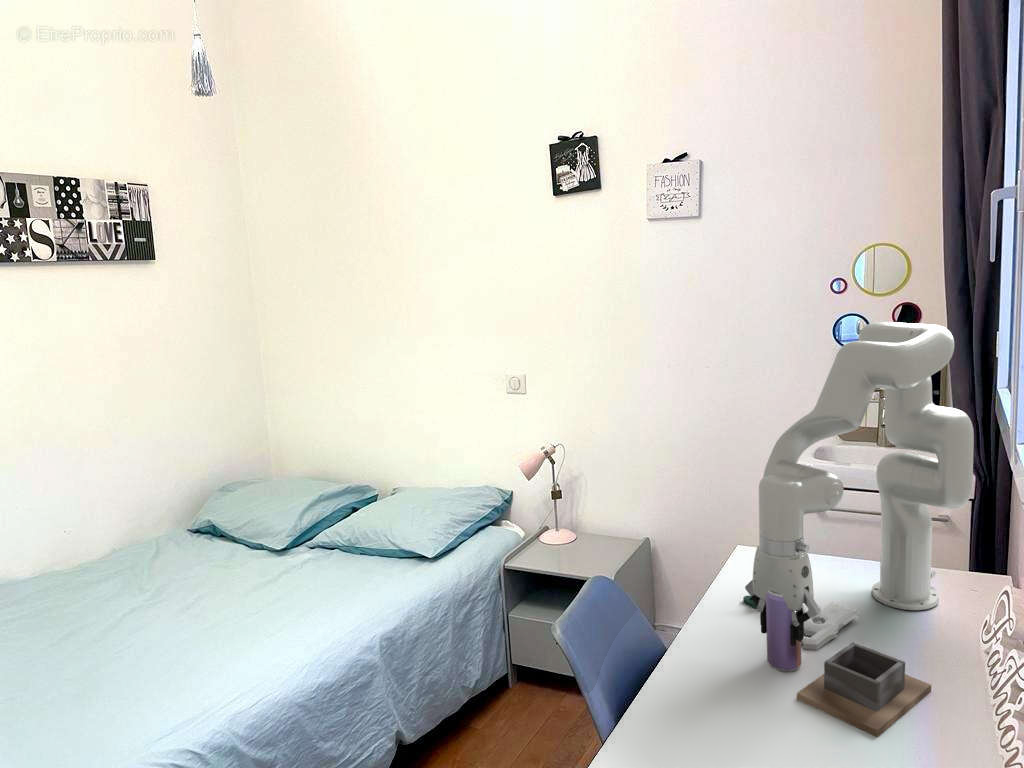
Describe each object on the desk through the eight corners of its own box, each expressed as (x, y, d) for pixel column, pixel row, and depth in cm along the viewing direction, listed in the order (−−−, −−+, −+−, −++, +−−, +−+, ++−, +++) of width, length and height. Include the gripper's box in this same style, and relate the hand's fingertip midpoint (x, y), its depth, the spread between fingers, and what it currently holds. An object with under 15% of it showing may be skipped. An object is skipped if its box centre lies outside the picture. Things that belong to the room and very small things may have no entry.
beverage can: (783, 676, 138) (782, 598, 136) (760, 661, 144) (758, 586, 141) (808, 666, 141) (807, 590, 138) (784, 652, 146) (783, 578, 143)
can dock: (852, 659, 142) (852, 628, 141) (931, 690, 131) (932, 657, 130) (796, 699, 132) (796, 666, 130) (877, 737, 120) (877, 701, 119)
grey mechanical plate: (815, 591, 162) (862, 607, 154) (815, 606, 163) (862, 622, 155) (766, 626, 151) (813, 645, 144) (766, 642, 152) (813, 662, 144)
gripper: (837, 550, 134) (836, 646, 137) (753, 526, 147) (754, 614, 150) (812, 563, 129) (812, 662, 133) (728, 537, 143) (730, 627, 146)
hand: (781, 635), depth 141 cm, fingers closed on beverage can, 5 cm apart
